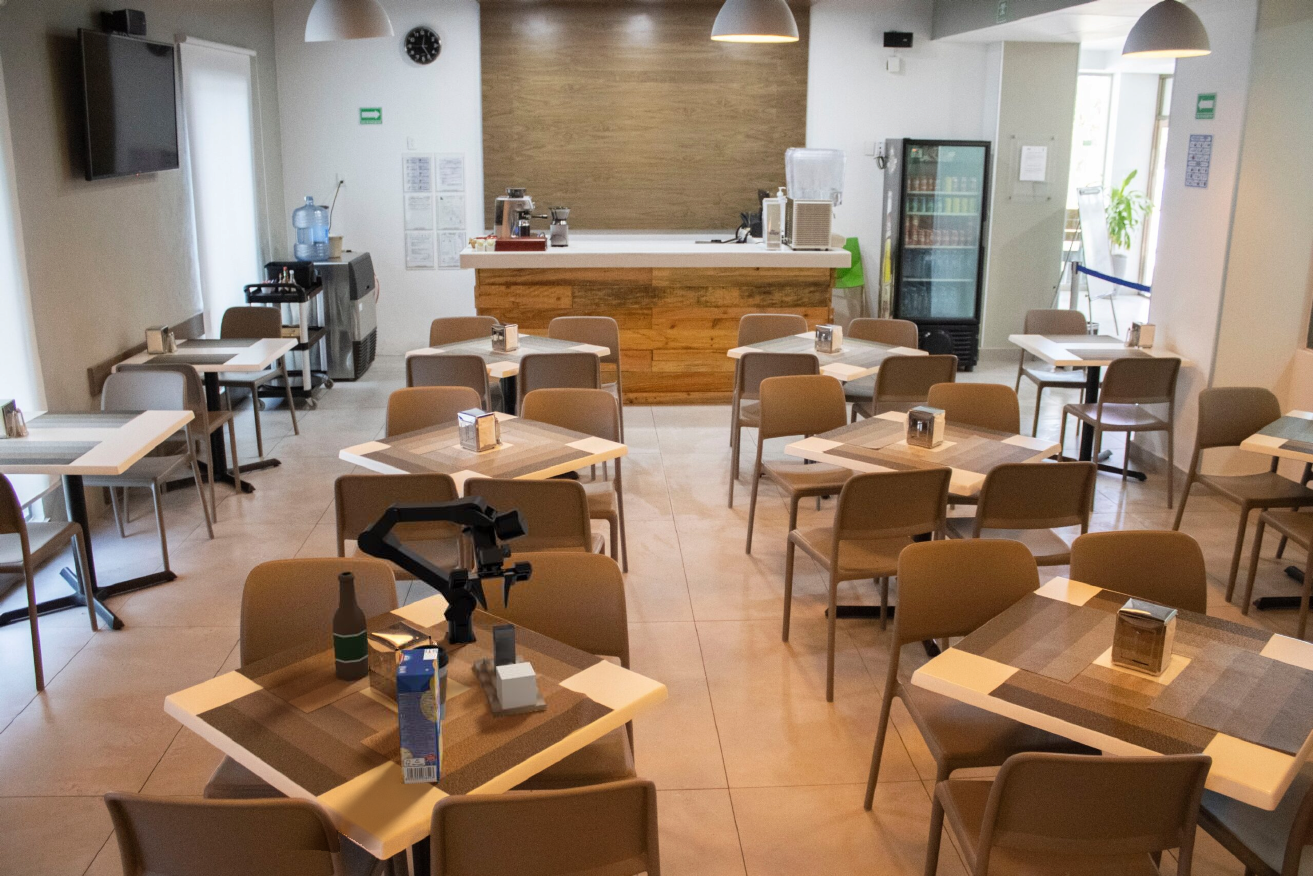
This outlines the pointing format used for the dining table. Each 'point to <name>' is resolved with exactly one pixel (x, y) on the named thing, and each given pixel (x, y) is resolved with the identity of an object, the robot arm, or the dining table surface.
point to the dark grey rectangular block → (504, 645)
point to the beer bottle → (350, 633)
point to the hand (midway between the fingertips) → (496, 609)
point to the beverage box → (419, 715)
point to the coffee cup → (440, 673)
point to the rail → (490, 688)
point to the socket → (516, 685)
